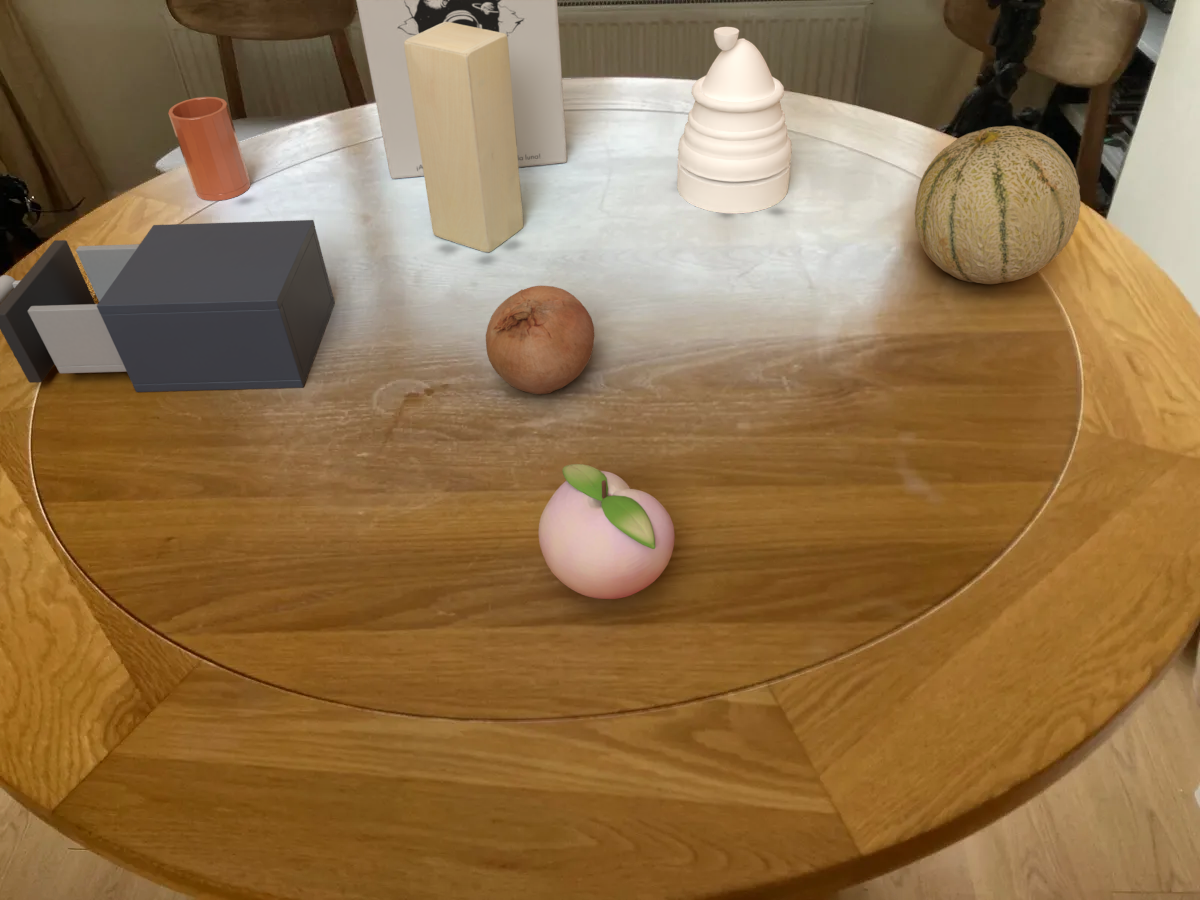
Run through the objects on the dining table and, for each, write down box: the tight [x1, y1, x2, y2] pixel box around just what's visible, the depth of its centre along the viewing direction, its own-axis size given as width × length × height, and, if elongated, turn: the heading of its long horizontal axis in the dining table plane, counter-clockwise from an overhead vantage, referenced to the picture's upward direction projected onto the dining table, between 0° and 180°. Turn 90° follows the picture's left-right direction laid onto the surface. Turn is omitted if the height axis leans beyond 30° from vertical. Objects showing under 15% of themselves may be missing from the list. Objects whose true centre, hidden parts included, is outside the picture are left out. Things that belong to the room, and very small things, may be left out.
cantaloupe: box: [914, 125, 1081, 285], centre depth 92 cm, size 15×15×15 cm
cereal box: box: [355, 0, 568, 180], centre depth 112 cm, size 22×8×25 cm, turn 98°
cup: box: [167, 96, 251, 202], centre depth 113 cm, size 6×6×10 cm
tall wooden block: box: [404, 22, 524, 253], centre depth 100 cm, size 8×7×21 cm
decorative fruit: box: [538, 463, 676, 600], centre depth 65 cm, size 9×8×10 cm
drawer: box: [0, 239, 140, 384], centre depth 89 cm, size 19×13×7 cm
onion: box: [485, 285, 596, 395], centre depth 83 cm, size 10×9×10 cm
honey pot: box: [676, 26, 793, 215], centre depth 106 cm, size 13×13×18 cm
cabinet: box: [96, 219, 336, 393], centre depth 89 cm, size 15×14×9 cm
